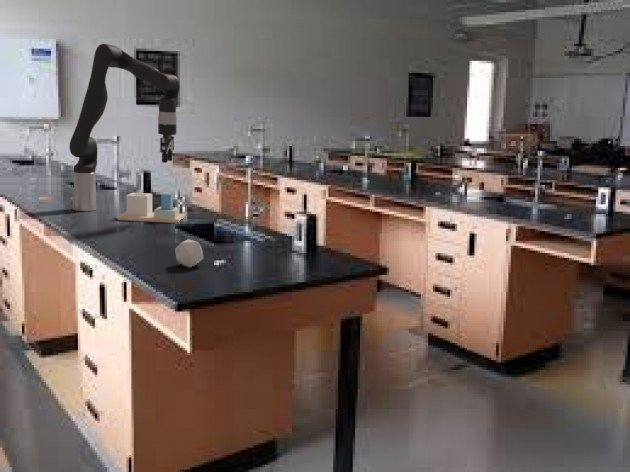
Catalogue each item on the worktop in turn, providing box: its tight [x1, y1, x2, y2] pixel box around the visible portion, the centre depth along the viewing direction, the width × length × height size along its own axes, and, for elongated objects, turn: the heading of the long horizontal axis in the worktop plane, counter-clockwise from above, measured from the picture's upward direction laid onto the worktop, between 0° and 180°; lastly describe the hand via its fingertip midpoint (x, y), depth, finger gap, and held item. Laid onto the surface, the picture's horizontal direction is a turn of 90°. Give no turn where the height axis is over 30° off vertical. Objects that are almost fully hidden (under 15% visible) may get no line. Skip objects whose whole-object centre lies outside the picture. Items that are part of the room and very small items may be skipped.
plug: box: [160, 192, 174, 210], centre depth 276 cm, size 4×4×10 cm
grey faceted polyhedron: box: [174, 238, 204, 268], centre depth 204 cm, size 8×9×10 cm
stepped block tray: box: [117, 192, 186, 224], centre depth 278 cm, size 26×14×10 cm, turn 89°
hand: (167, 161), depth 272 cm, fingers open, 8 cm apart
